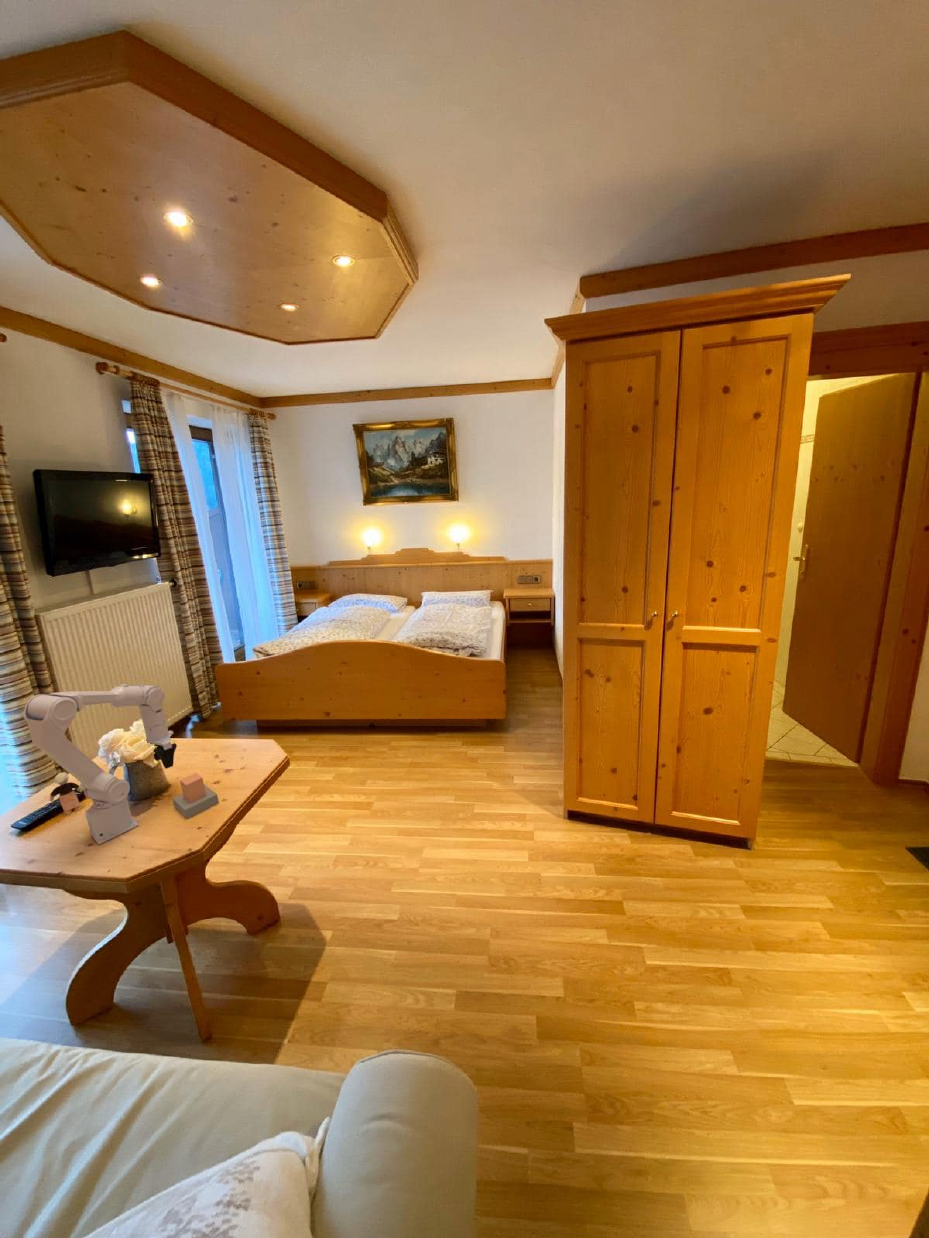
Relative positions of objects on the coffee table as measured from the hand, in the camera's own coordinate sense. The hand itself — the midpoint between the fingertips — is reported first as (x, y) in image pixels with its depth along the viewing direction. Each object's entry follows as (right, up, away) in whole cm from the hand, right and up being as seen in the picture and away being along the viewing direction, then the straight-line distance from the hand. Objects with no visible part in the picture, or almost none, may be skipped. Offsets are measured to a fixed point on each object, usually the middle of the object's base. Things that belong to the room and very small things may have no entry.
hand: (164, 763), depth 147 cm
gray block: (+13, -11, -5) cm, 18 cm away
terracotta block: (+13, -8, -5) cm, 16 cm away
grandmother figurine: (-26, -13, -4) cm, 29 cm away
